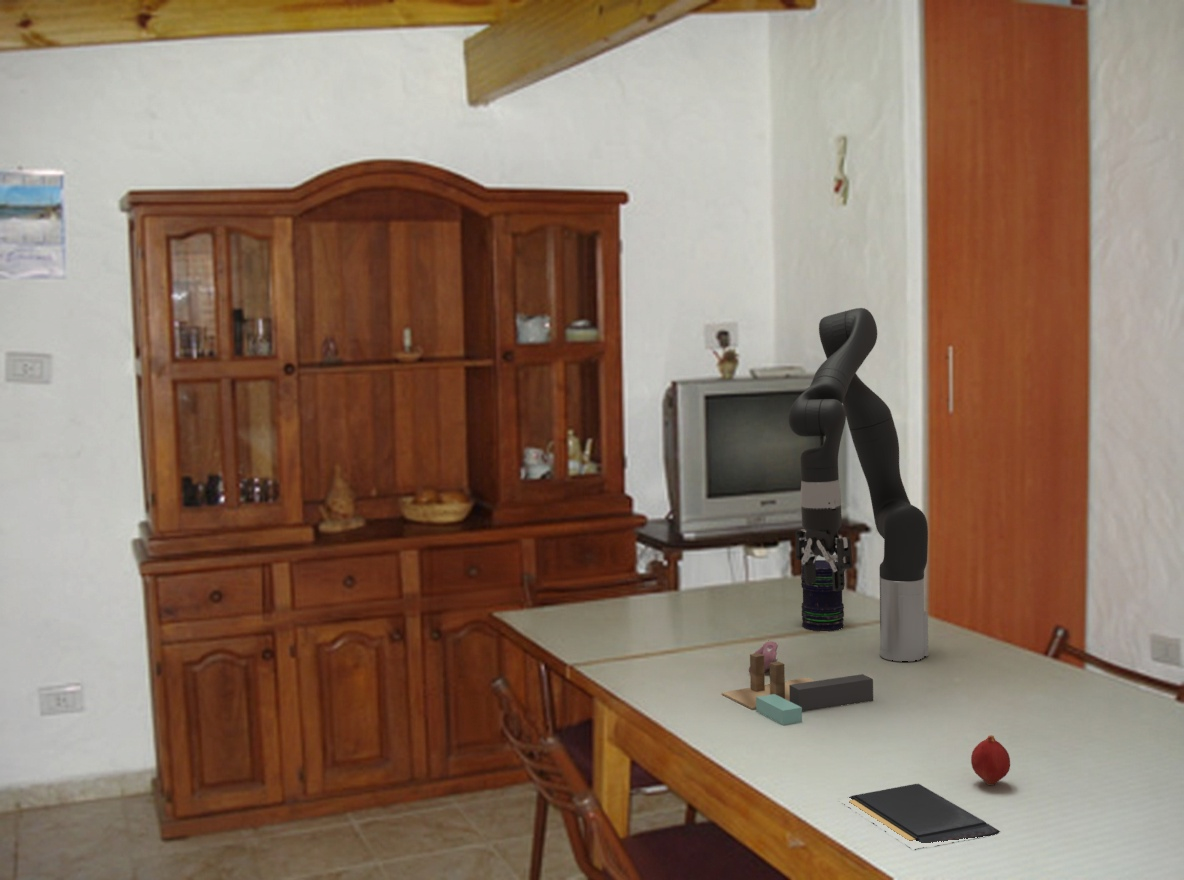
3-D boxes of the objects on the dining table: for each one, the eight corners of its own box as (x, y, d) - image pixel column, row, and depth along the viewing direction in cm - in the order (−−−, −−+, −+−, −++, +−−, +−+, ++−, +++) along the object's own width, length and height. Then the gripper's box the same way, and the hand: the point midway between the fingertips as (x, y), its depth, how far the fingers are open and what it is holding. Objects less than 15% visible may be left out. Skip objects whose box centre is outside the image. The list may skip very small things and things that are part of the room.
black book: (1003, 825, 174) (909, 842, 169) (1003, 838, 174) (909, 856, 169) (922, 776, 193) (835, 791, 188) (922, 788, 193) (836, 803, 188)
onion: (965, 778, 195) (965, 729, 194) (1000, 776, 195) (1001, 727, 194) (979, 792, 189) (979, 741, 188) (1016, 790, 189) (1016, 739, 189)
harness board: (806, 679, 250) (806, 643, 249) (839, 693, 240) (839, 656, 239) (721, 694, 241) (721, 657, 241) (752, 709, 232) (751, 671, 231)
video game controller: (766, 683, 253) (781, 653, 252) (746, 673, 254) (761, 643, 253) (768, 669, 263) (783, 641, 262) (749, 660, 264) (763, 631, 263)
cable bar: (863, 696, 238) (862, 674, 238) (873, 702, 235) (873, 678, 235) (789, 708, 233) (789, 684, 233) (799, 713, 230) (798, 689, 229)
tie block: (774, 709, 233) (774, 693, 232) (802, 723, 224) (801, 707, 224) (756, 712, 231) (756, 697, 231) (783, 726, 223) (783, 710, 222)
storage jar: (850, 624, 293) (849, 562, 292) (835, 633, 285) (834, 569, 284) (811, 619, 299) (810, 558, 297) (794, 628, 290) (794, 566, 289)
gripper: (782, 502, 241) (786, 583, 242) (829, 509, 228) (832, 596, 230) (813, 497, 244) (816, 578, 246) (860, 505, 232) (864, 590, 233)
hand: (824, 586), depth 238 cm, fingers open, 8 cm apart
